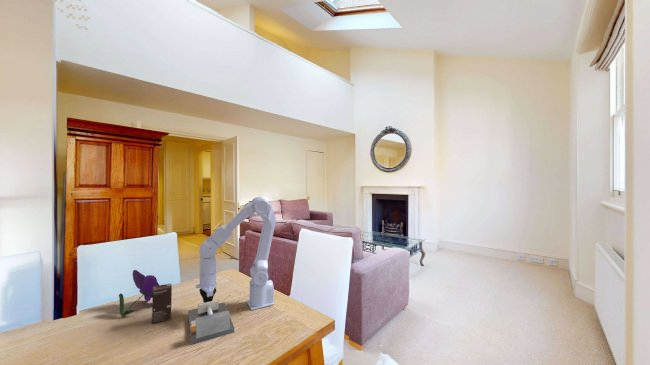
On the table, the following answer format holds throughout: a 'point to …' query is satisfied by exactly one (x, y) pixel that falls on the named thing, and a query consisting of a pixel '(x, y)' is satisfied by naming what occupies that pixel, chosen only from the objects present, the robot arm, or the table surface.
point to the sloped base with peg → (210, 324)
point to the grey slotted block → (208, 307)
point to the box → (161, 302)
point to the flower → (145, 288)
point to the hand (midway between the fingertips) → (207, 307)
